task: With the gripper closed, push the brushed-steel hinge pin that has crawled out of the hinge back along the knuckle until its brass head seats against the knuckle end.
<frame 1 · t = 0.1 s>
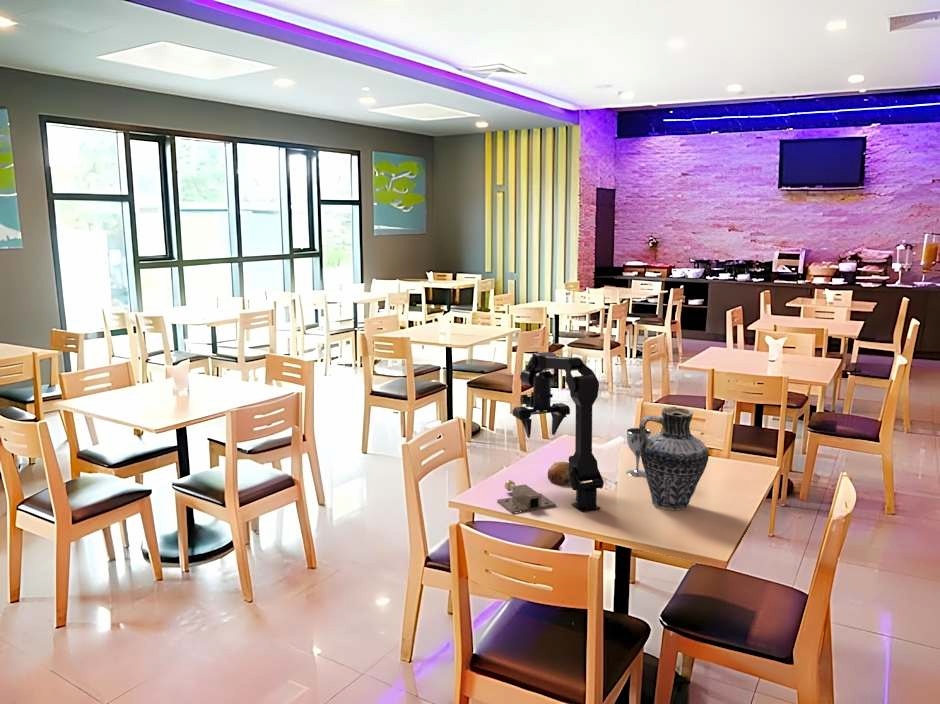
hand: (540, 436, 251), 15 cm above the table, fingers open, 9 cm apart
bread roll: (562, 481, 252), on the table
wine glass: (637, 474, 259), on the table
jug: (669, 506, 230), on the table
pin: (517, 491, 235), point 2 cm above the table, slide at 5.5 cm
hinge: (526, 504, 230), on the table
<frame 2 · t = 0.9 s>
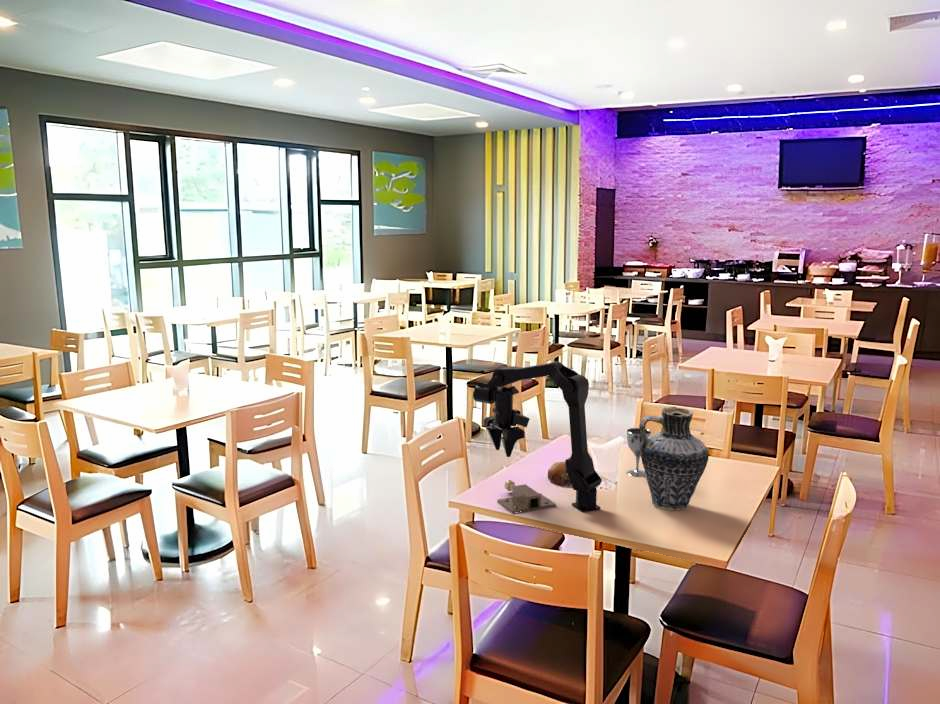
hand: (503, 453, 244), 11 cm above the table, fingers open, 8 cm apart
nothing on the table moved.
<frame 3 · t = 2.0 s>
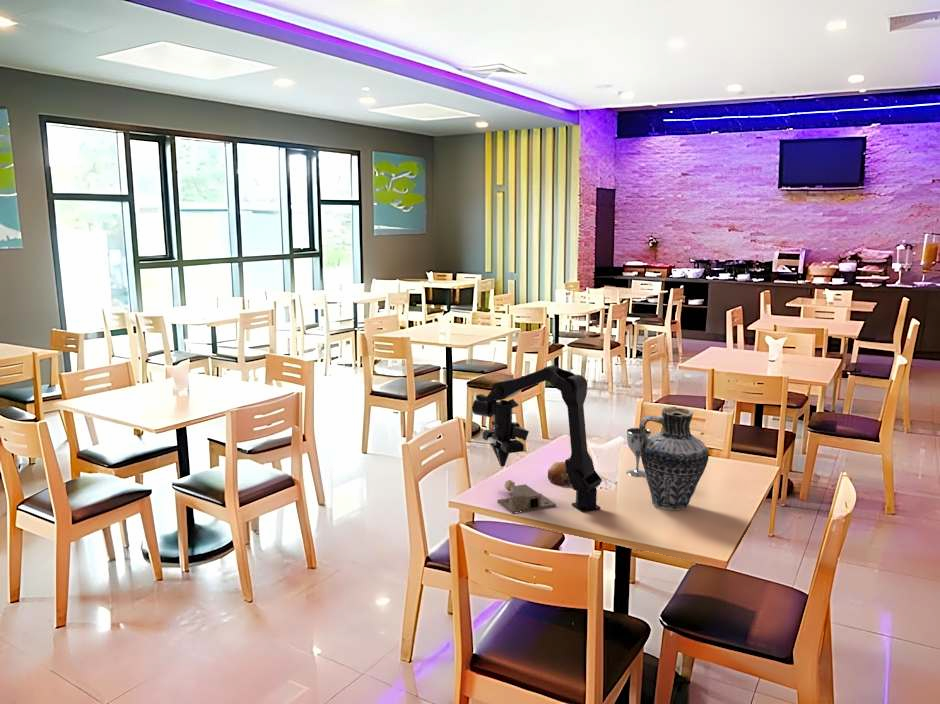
hand: (502, 466, 244), 7 cm above the table, fingers closed
nothing on the table moved.
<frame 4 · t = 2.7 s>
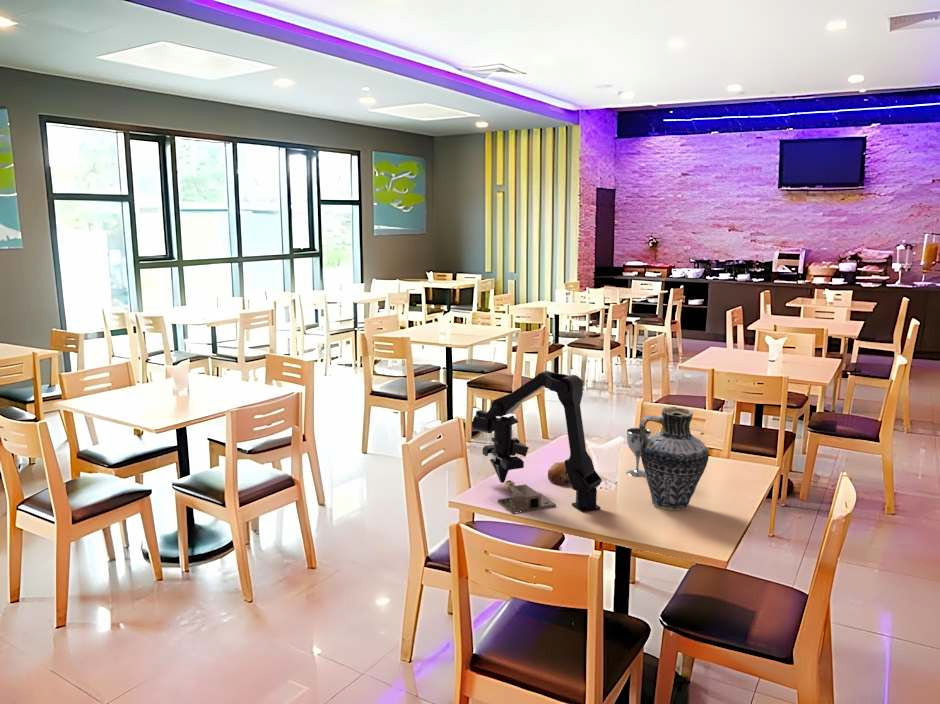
hand: (502, 482, 245), 1 cm above the table, fingers closed
nothing on the table moved.
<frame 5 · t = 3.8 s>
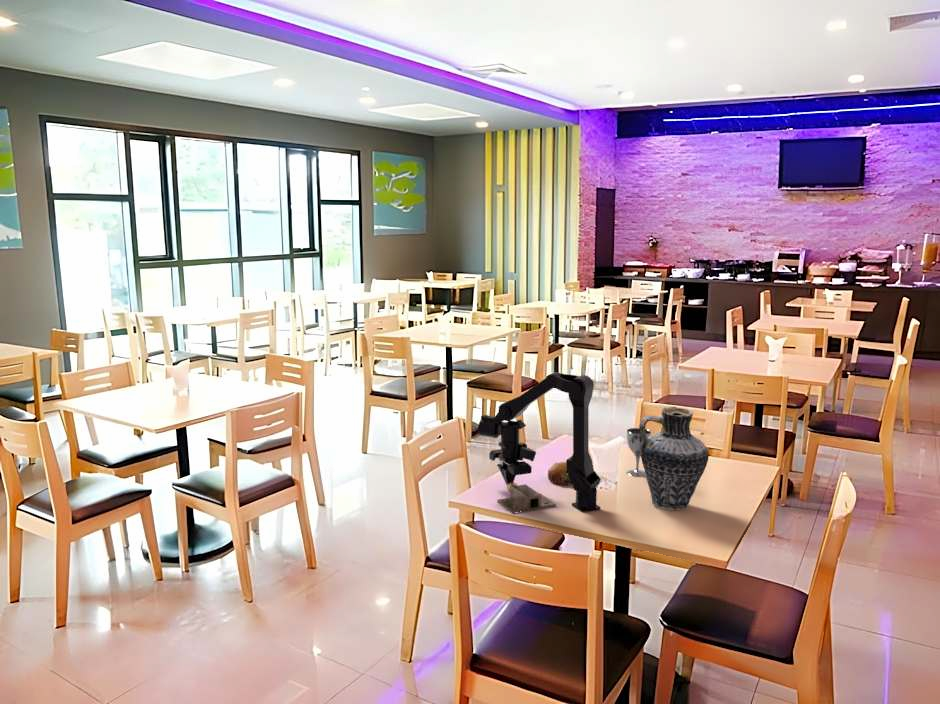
hand: (509, 487, 241), 1 cm above the table, fingers closed
pin: (519, 492, 234), point 2 cm above the table, slide at 3.9 cm, touching gripper
everything else where it was.
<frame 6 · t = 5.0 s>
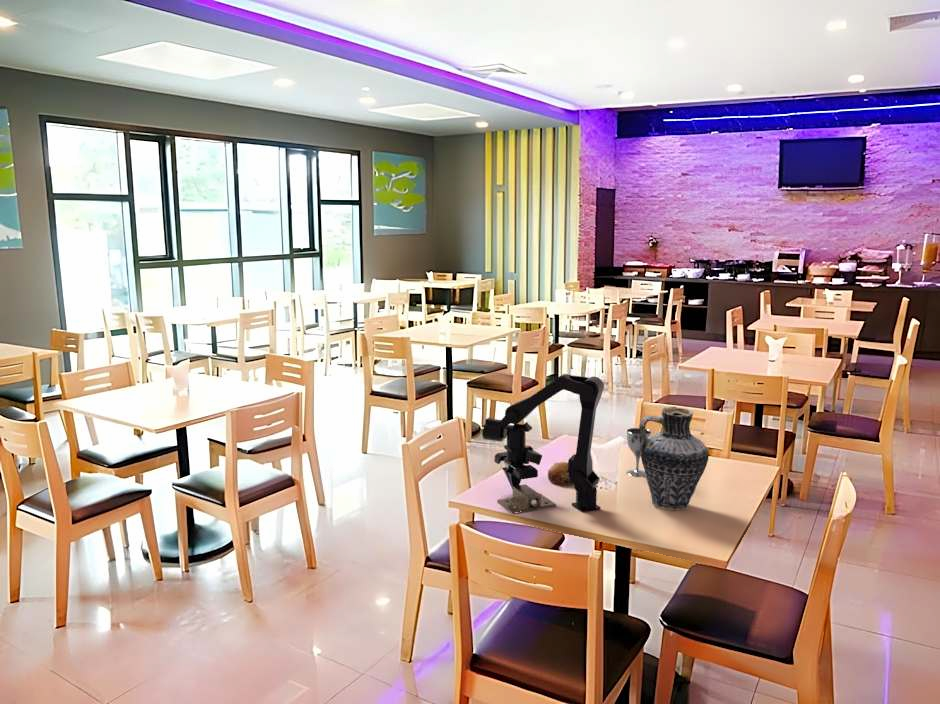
hand: (515, 491, 237), 2 cm above the table, fingers closed
pin: (525, 497, 230), point 2 cm above the table, slide at 0.0 cm, touching gripper
everything else where it was.
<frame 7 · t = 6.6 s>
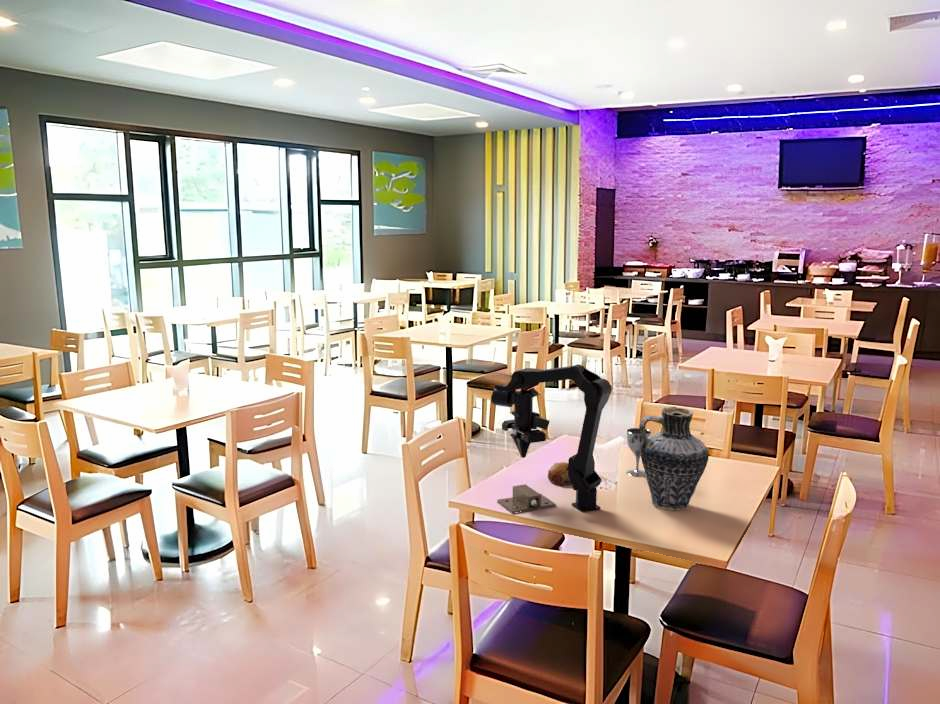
hand: (523, 457, 239), 12 cm above the table, fingers closed
pin: (525, 497, 230), point 2 cm above the table, slide at 0.0 cm
everything else where it was.
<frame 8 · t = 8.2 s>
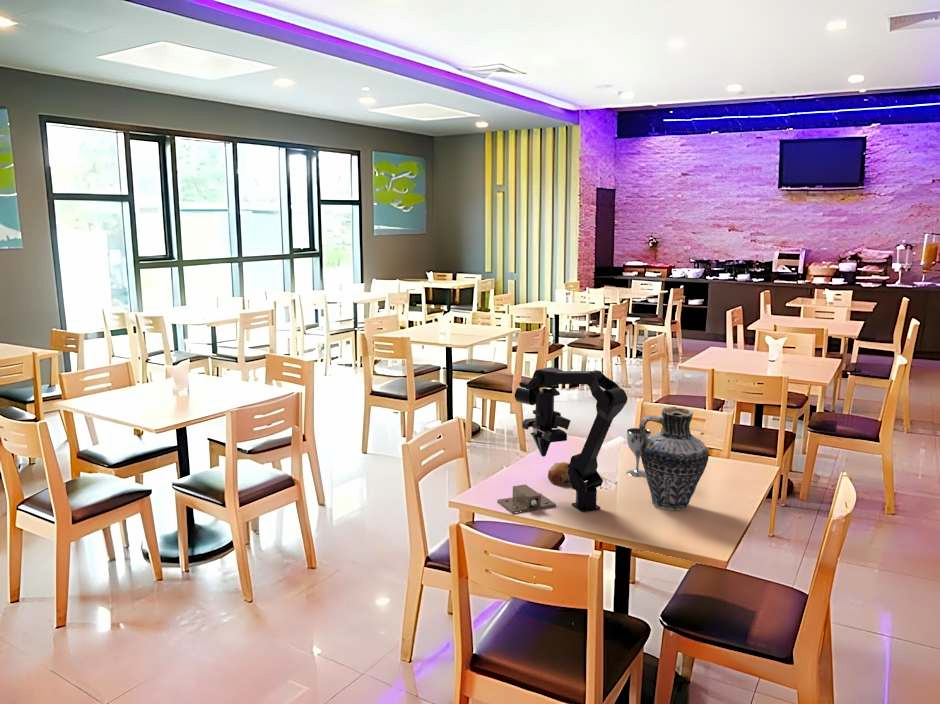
hand: (543, 456, 238), 12 cm above the table, fingers closed
nothing on the table moved.
at the end: pin slide at 0.0 cm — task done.
